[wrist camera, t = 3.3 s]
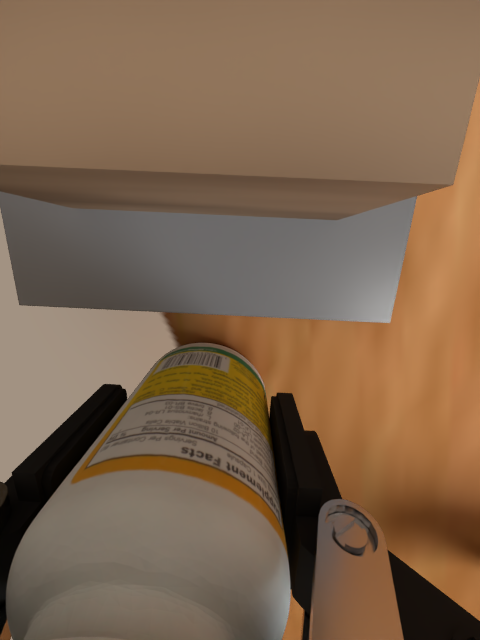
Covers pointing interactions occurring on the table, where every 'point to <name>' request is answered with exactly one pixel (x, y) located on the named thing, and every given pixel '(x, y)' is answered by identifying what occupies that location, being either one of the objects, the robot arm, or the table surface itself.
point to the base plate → (207, 261)
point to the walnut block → (235, 103)
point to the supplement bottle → (164, 518)
